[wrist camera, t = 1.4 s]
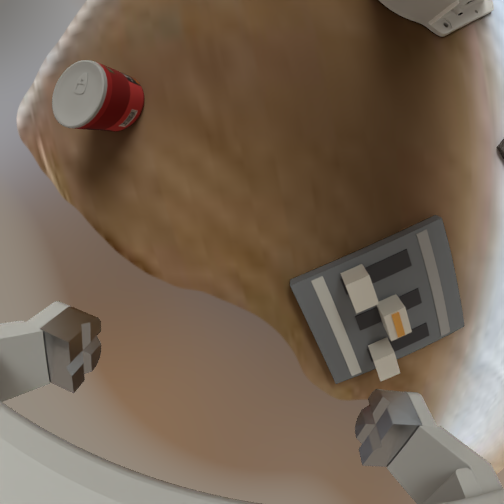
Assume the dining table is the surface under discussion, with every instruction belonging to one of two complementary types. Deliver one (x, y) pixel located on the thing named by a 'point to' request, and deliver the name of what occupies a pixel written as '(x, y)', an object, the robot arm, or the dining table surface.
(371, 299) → the block
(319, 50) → the dining table surface
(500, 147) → the picture frame
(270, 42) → the dining table surface
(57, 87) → the canned food
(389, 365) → the breaker
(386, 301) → the breaker mid
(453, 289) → the panel
